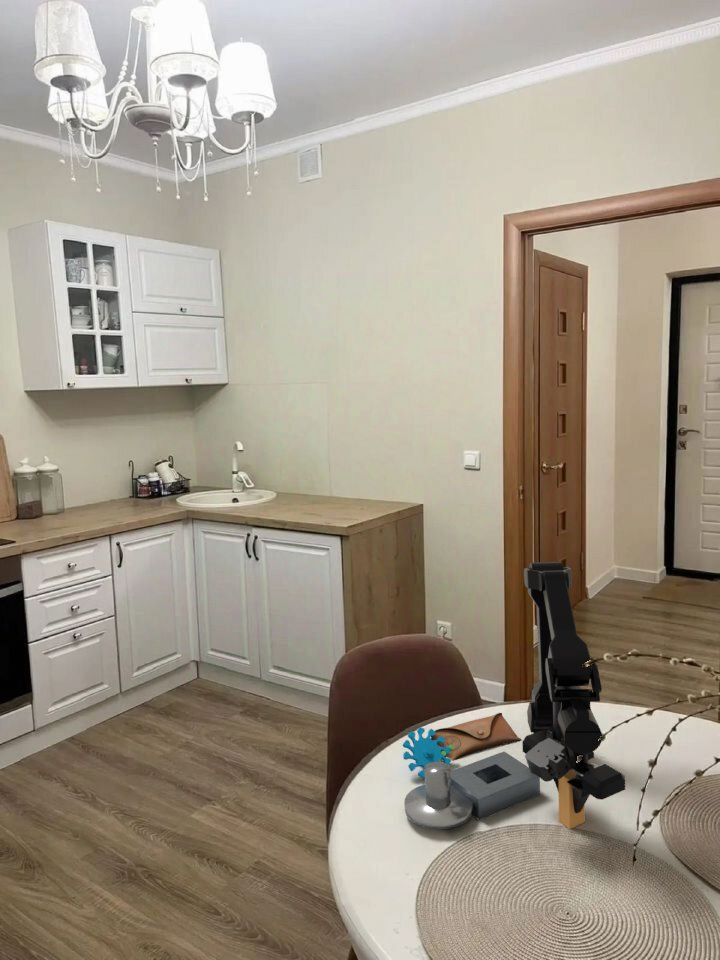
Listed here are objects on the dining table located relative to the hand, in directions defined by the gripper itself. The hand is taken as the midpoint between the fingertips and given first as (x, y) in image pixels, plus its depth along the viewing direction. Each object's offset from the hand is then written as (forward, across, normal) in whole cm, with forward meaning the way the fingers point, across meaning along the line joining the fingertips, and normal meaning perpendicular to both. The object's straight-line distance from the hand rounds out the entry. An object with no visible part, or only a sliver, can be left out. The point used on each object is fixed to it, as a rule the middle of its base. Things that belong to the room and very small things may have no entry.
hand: (571, 808), depth 128 cm
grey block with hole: (+3, -14, -12) cm, 18 cm away
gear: (+3, -27, -11) cm, 30 cm away
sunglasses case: (+3, -31, +4) cm, 31 cm away
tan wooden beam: (+2, 0, 0) cm, 2 cm away
